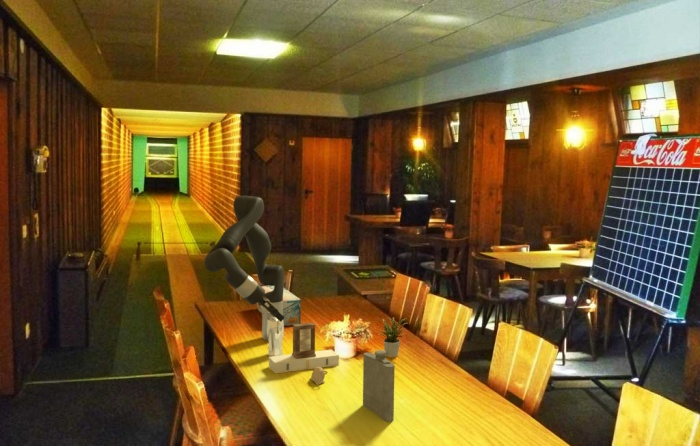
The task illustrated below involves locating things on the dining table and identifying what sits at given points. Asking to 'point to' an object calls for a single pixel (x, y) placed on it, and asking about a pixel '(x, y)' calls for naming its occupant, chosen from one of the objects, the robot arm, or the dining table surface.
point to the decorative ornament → (318, 375)
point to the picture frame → (303, 340)
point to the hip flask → (378, 384)
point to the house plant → (392, 338)
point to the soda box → (288, 306)
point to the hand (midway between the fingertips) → (279, 317)
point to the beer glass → (275, 336)
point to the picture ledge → (303, 361)
